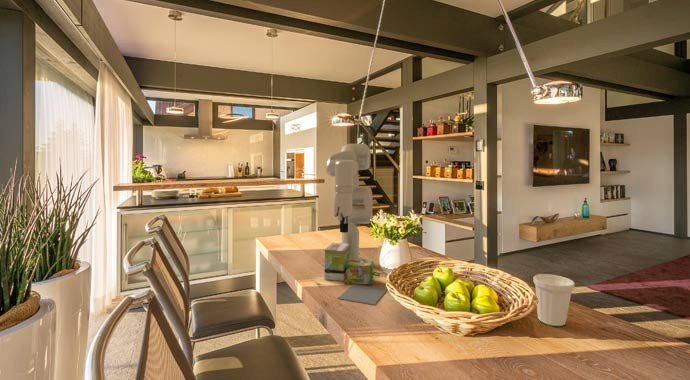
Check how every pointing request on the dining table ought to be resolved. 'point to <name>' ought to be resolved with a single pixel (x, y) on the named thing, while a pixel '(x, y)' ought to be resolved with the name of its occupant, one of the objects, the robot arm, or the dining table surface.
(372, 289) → the mat
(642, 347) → the dining table surface
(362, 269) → the chalk box
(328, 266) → the tea box
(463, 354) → the dining table surface
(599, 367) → the dining table surface
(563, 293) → the cup
